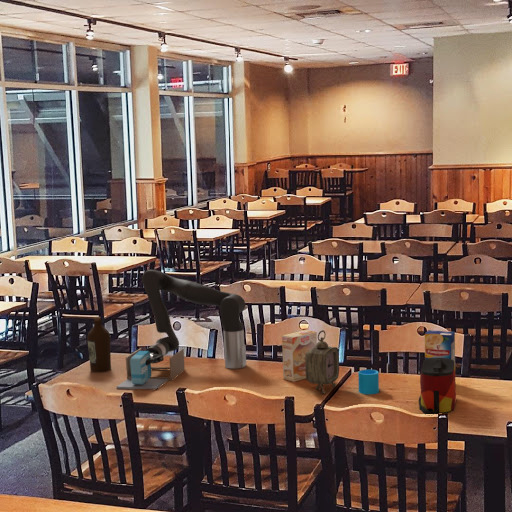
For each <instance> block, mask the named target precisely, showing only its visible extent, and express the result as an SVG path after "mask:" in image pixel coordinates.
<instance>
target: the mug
mask: <svg viewBox="0 0 512 512" xmlns="http://www.w3.org/2000/svg"><path fill="white" fill-rule="evenodd" d="M357 373H358V376H357V377H358V393H359V394H361V395H362V394H363V395H376V394H379V393H380V388H379V387H380V384H379V383H380V379H379V371H378V370H376V369H361V370H359V371H357Z"/></svg>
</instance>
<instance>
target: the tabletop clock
mask: <svg viewBox="0 0 512 512" xmlns="http://www.w3.org/2000/svg"><path fill="white" fill-rule="evenodd" d="M322 333H323V334H324V336H323V337H322V336H320V335H321V334H322ZM326 333H327V332H326V331H325V330H323V329H322V330H320V331H319V332H318V334H317V345H316V347H315V348H313V349H311V350H309V351H308V352H307V353H306V356H305V371H306V378H305V379H306V381H308V382H309V383H310V384H316V385H317V386H315V388H316V390H318V391H319V390H320V389H321V391H320V392H321V394H322V395H324V394H325V393H326V391H325V389H324V385H326V386H329V385H331V387H332V388H335V387H336V386H337V385H336V383H335V382H336V381H337V380H338V378H339V373H340V357H339V356H340V354H339V350H338V347H336V346H329V344H328V343H327V342H326V341H324V340H325V338H326Z"/></svg>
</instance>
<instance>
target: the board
mask: <svg viewBox="0 0 512 512" xmlns="http://www.w3.org/2000/svg"><path fill="white" fill-rule="evenodd" d="M166 381H167V382H168V380H167V379H148V380H147V381H146V382H145V383H144V384H143V385H138V384H132V378H128V379H127V378H126V380H124V381H123V382H121V383H120V384H118V385H116V390H135V389H157V388H158V389H159V387H160V386H161V385H162V384H163V385H165V384H166V383H167V382H166ZM165 382H166V383H165ZM164 383H165V384H164ZM163 385H162V386H163ZM162 386H161V387H162ZM161 387H160V388H161ZM158 389H157V390H158Z"/></svg>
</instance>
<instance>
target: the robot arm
mask: <svg viewBox="0 0 512 512" xmlns="http://www.w3.org/2000/svg"><path fill="white" fill-rule="evenodd" d="M141 281H142V285H143V287H144V290H145V292H146V296H147V298H148V301H149V304H150V308H151V310H152V314H153V318H154V323H155V328H156V331H157V333H159V334H164V333H165V334H166V335H167V336H165V337H162V338H161V337H160V338H159V339H157V340H156V341H155V343H153V344H151V345H150V346H148V348H146V349H145V350H144V351H149V352H150V358H149V359H147V360H146V365H149V364H151V365H152V364H158V363H161V362H163V361H164V357H165V356H166V355H168V354H169V353H170V352H173V351H176V350H178V349H179V347H180V342H179V338H178V337H177V335H176V333H175V330H174V329H173V327H172V324H171V318H170V314H169V311H168V309H167V306H166V305H165V303H164V301H163V298H162V296H161V291H162V292H163V291H164V292H167V293H170V294H174V295H175V296H177V297H179V298H180V299H182V300H184V301H187V302H191V303H194V304H198V305H206V306H207V305H209V306H217V307H219V309H220V320H221V325H222V328H223V347H224V349H223V350H224V366H225V368H227V369H234V370H235V369H244V368H245V367H246V366H247V350H246V348H247V347H246V344H245V332H244V330H245V329H244V323H243V322H242V321H241V315H240V314H241V313H242V312H243V311H244V310H245V308H246V300H245V299H244V298H243V297H242V296H241V295H239V294H235V293H231V292H226V291H221V290H217V289H215V288H214V287H209V286H206V285H203V284H201V283H198V282H195V281H192V280H187V279H183V278H178V277H174V276H171V275H168V274H167V273H164V272H162V271H161V270H156V269H148V270H146V271H145V272H143V274H142V277H141Z"/></svg>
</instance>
